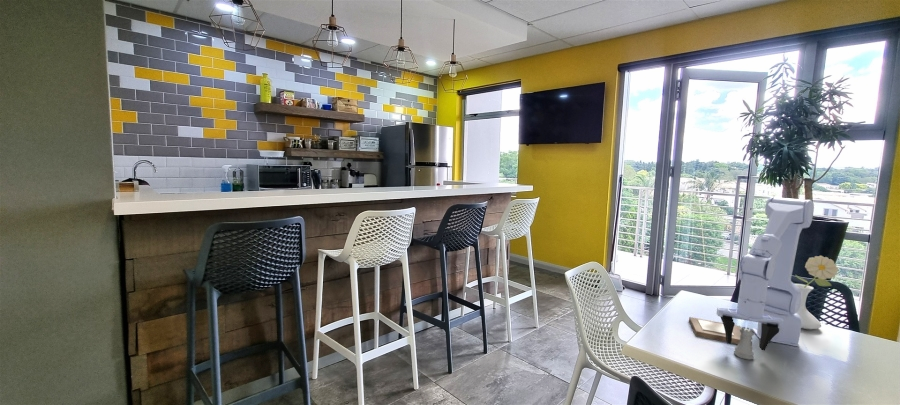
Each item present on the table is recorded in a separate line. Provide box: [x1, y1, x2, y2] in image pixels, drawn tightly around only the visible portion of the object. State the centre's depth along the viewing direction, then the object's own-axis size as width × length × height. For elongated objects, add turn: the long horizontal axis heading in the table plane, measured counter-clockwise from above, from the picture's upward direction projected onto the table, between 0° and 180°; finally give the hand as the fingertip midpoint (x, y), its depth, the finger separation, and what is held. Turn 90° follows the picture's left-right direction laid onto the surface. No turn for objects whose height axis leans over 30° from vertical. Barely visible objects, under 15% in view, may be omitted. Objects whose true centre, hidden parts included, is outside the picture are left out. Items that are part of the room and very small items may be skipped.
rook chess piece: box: [733, 326, 755, 361], centre depth 104 cm, size 4×4×8 cm
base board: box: [688, 316, 753, 348], centre depth 118 cm, size 14×12×2 cm
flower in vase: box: [794, 255, 839, 330], centre depth 125 cm, size 13×11×25 cm
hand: (744, 345), depth 104 cm, fingers open, 7 cm apart
